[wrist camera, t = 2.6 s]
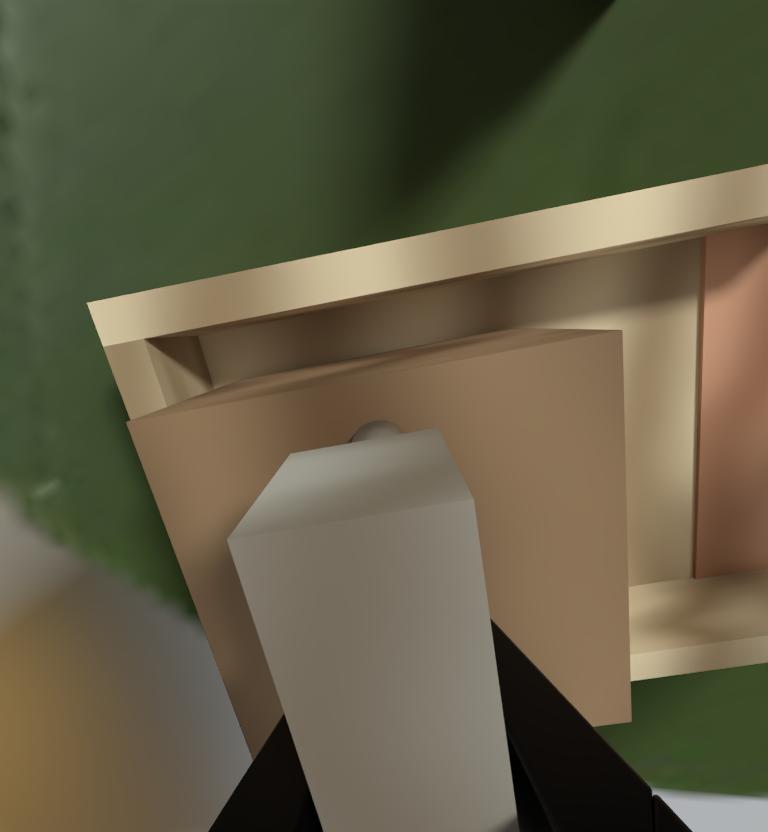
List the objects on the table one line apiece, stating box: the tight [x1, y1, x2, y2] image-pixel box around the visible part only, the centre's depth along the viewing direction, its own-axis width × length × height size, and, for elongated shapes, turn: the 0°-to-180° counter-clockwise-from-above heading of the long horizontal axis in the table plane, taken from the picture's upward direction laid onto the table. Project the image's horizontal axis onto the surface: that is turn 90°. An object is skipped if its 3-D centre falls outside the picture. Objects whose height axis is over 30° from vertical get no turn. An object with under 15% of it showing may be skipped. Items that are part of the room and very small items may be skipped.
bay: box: [87, 164, 768, 681], centre depth 13 cm, size 22×16×4 cm
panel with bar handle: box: [126, 328, 632, 832], centre depth 9 cm, size 10×10×10 cm
